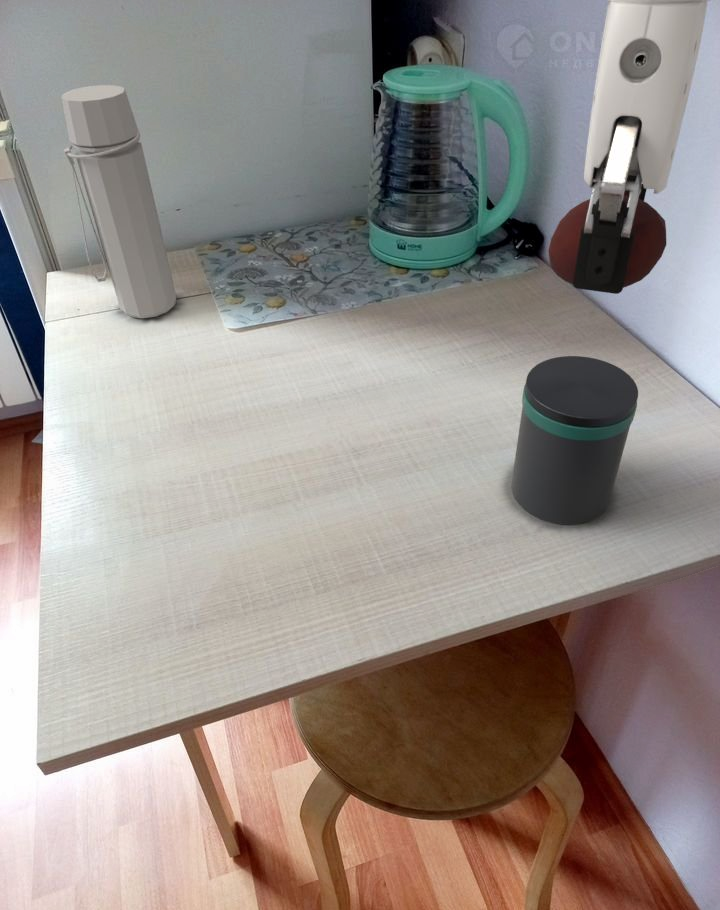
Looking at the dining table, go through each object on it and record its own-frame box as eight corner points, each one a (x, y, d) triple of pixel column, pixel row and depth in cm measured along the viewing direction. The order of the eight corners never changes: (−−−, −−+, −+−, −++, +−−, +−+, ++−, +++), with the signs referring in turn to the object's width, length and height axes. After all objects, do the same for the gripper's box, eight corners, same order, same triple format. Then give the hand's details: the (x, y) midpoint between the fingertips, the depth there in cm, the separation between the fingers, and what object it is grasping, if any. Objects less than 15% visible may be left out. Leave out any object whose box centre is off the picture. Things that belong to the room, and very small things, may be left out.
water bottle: (170, 287, 94) (122, 80, 78) (185, 313, 88) (137, 96, 72) (100, 304, 91) (34, 92, 75) (111, 332, 86) (43, 110, 69)
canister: (616, 470, 64) (644, 365, 56) (604, 536, 58) (634, 429, 50) (521, 449, 66) (536, 347, 59) (500, 511, 60) (514, 405, 53)
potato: (683, 295, 49) (707, 209, 45) (577, 317, 47) (592, 230, 43) (622, 253, 54) (638, 173, 51) (525, 272, 53) (534, 191, 49)
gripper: (738, -15, 31) (650, 329, 43) (738, -56, 44) (670, 220, 55) (567, -15, 34) (527, 311, 45) (612, -54, 46) (571, 210, 57)
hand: (605, 260), depth 50 cm, fingers closed on potato, 8 cm apart
